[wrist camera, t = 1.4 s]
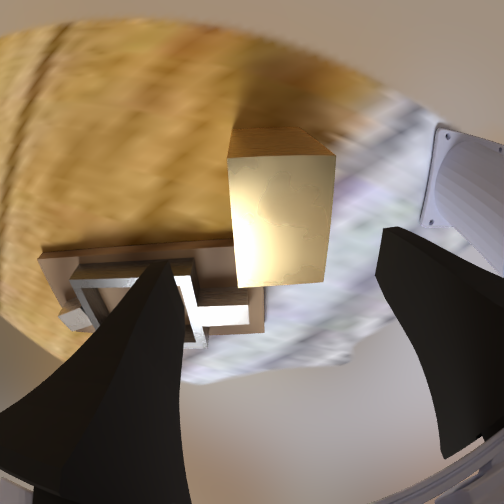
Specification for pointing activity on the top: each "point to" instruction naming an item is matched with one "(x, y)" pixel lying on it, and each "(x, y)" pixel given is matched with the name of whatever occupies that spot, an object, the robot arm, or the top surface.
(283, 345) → the top surface
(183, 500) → the robot arm
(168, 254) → the brown board
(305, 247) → the block
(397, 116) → the top surface
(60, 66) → the top surface
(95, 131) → the top surface
